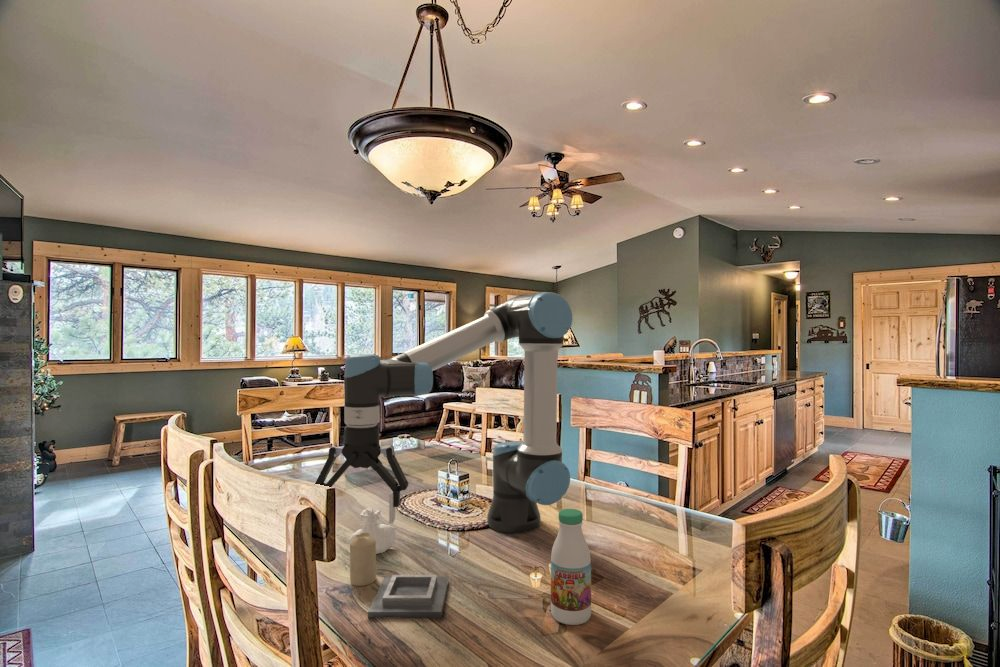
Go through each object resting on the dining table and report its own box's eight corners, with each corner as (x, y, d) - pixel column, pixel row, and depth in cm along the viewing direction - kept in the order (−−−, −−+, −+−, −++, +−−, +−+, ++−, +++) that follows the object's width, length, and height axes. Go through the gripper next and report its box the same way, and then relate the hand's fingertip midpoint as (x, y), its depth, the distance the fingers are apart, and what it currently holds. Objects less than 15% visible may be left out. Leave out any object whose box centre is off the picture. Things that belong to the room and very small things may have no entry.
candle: (369, 587, 111) (368, 541, 111) (345, 585, 112) (345, 539, 112) (380, 575, 116) (379, 531, 116) (357, 573, 117) (357, 529, 117)
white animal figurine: (393, 553, 133) (382, 511, 138) (404, 542, 128) (391, 499, 133) (348, 566, 125) (338, 521, 131) (357, 555, 121) (346, 509, 126)
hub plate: (448, 582, 113) (448, 569, 113) (441, 618, 99) (440, 604, 99) (384, 582, 113) (384, 569, 113) (368, 618, 99) (367, 604, 99)
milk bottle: (547, 605, 103) (547, 505, 103) (585, 603, 104) (585, 504, 104) (555, 627, 96) (554, 520, 95) (595, 625, 96) (595, 518, 96)
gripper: (298, 427, 110) (298, 526, 110) (415, 428, 110) (415, 528, 110) (311, 421, 117) (311, 514, 118) (421, 422, 117) (420, 515, 117)
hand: (361, 521), depth 114 cm, fingers open, 13 cm apart
